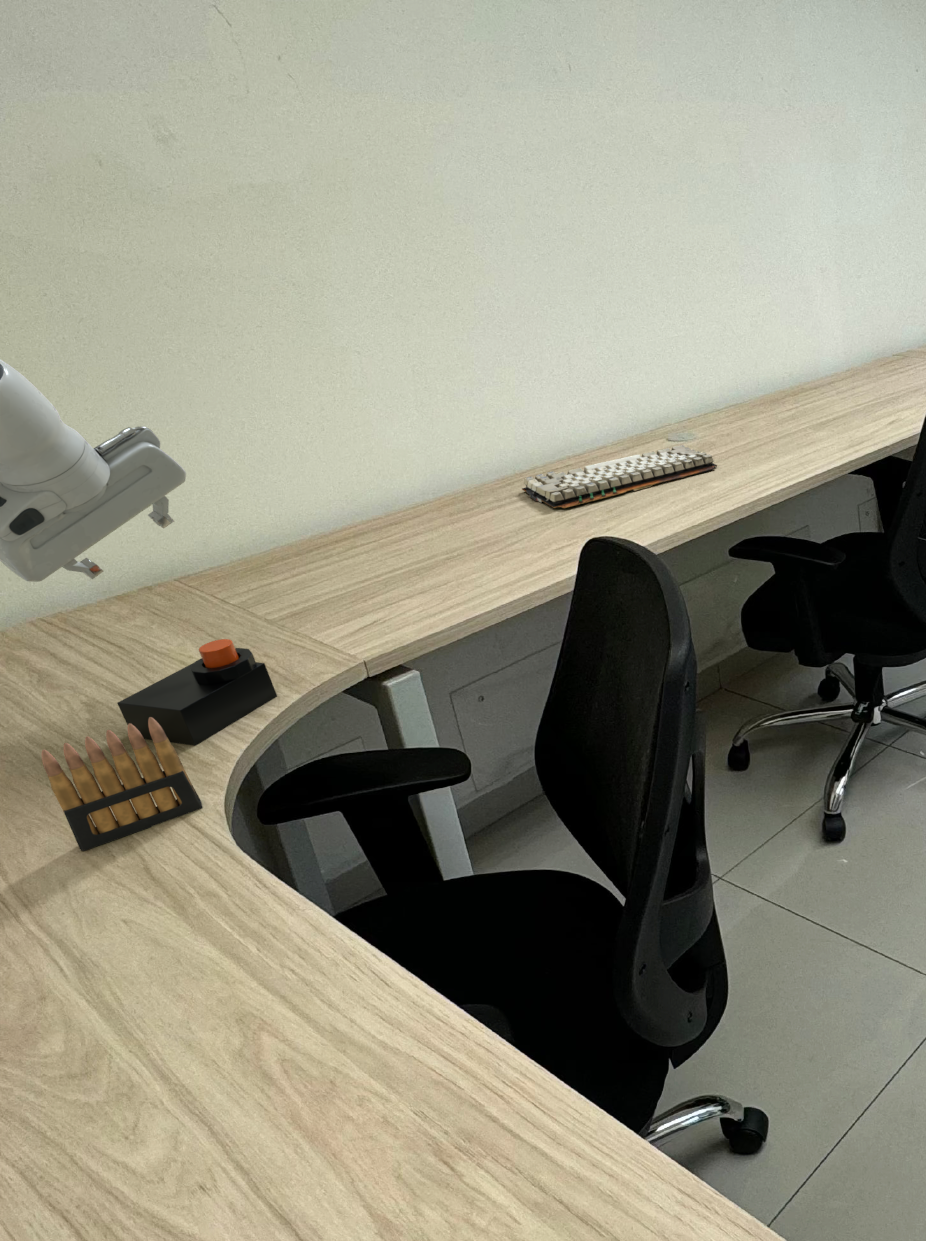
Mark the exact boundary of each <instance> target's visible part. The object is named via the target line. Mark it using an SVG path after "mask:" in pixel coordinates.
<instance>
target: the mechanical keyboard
mask: <svg viewBox="0 0 926 1241" xmlns="http://www.w3.org/2000/svg"><path fill="white" fill-rule="evenodd" d="M714 462H715V460H714V458H713V455H712V454H709V453H707V452H705V451H700V450H695V449H691V447H689V446H685V445H684V444H679V445H676V446H672V447H671V449H670V448H669V447H666V448H663V449H657V450H656V452H655V451H649V452H645V453H642V454H641V455H640V454H632V455H630V456H629V455H628V456H624V457H620V458H615V459H611V460H607V461H602V462H598V463H594V464H589V465H585V466H584V469H582V468H581V467H578V468H573V469H569V470H567V473H566V472H565V471H561V472H558V473H557V472H555V471H554V470H551V471H549V472H546V473H545V474H546V475H544V474H543V473H540V474H536V475H535V476H534V477H533V476H527V477H524V480H523V485H525V487H522V488H521V491H524V492H525V493H526V494H527V495H528V496H529V498H530V500H531V499H533V500H534V502H539V503H542V502H543V503H545V504H546V505H547V506H549V507H552V508H553V509H556V508H562V509H567V508H571V507H574V506H579V505H582V504H587V503H590V502H595V501H599V500H602V499H606V498H610V497H614V496H619V495H621V494H625V493H627V492H630V491H634V492H636V491H639V490H642V489H647V488H650V487H652V486H653V485H658V484H661V483H666V482H669V481H673V480H677V479H683V478H686V477H689V476H693V475H697V474H700V473H705V472H709V471H712V470H715V467H718V464H715V463H714Z"/></svg>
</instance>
